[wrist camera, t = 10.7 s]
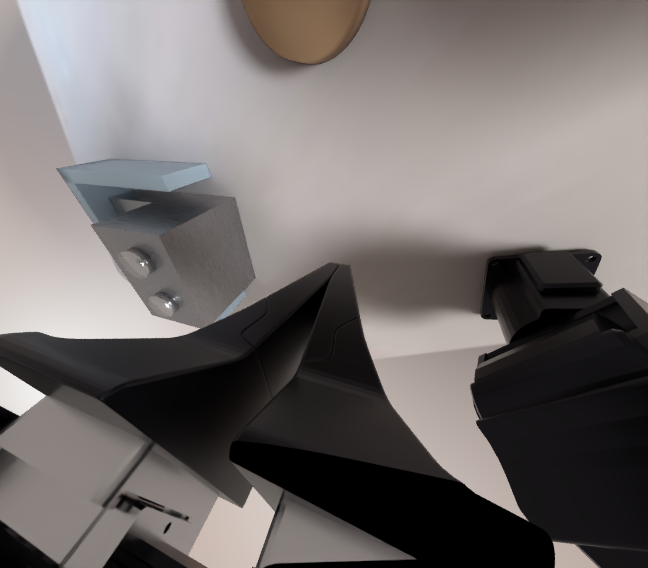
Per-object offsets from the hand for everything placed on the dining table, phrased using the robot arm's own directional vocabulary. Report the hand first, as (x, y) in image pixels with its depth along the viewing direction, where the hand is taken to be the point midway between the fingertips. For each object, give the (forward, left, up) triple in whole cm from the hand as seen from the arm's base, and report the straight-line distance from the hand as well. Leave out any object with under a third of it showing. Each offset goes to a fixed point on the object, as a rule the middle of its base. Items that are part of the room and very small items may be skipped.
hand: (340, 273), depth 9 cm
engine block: (-1, +22, -12) cm, 25 cm away
